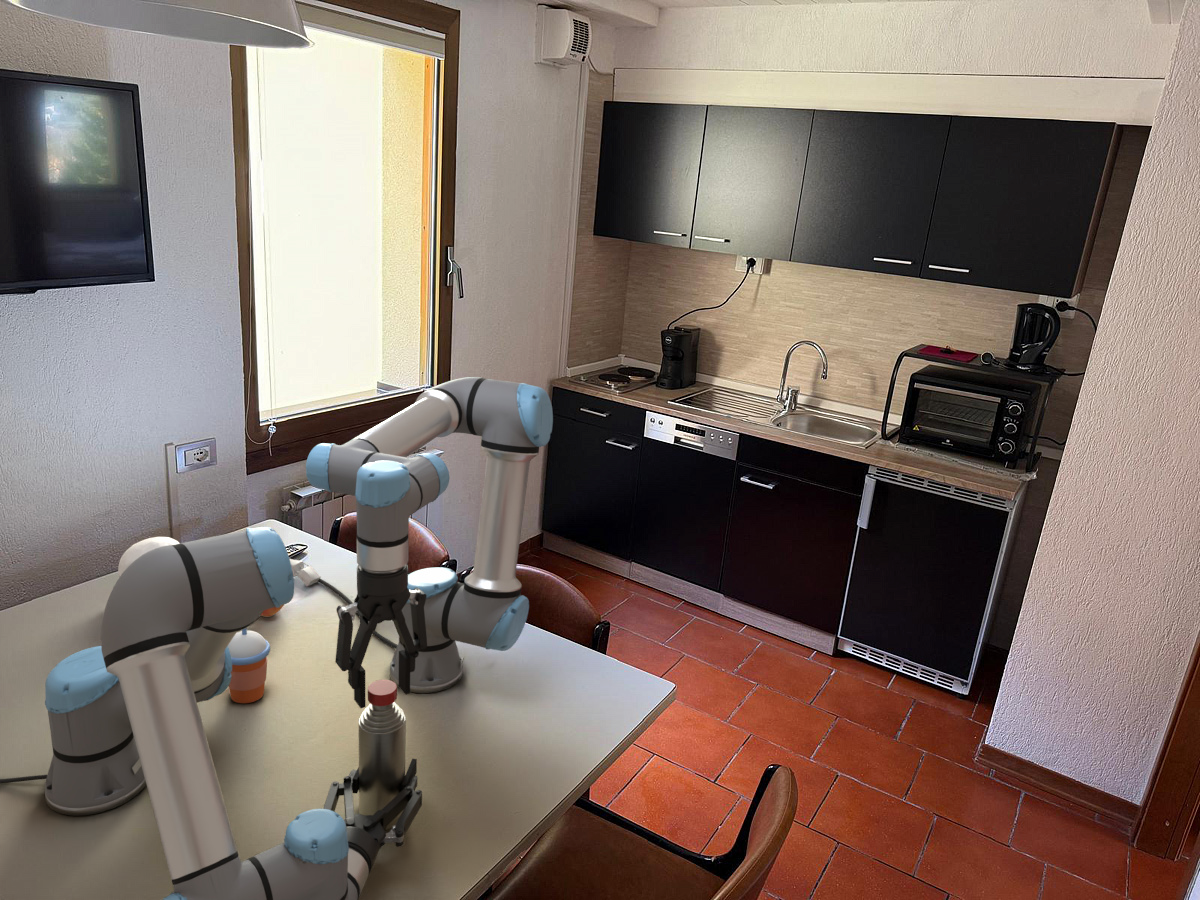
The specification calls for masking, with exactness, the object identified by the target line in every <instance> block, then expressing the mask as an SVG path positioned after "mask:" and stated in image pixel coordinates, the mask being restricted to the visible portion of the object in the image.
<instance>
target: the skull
mask: <svg viewBox="0 0 1200 900" xmlns="http://www.w3.org/2000/svg"><path fill="white" fill-rule="evenodd" d="M176 544H180V542H179V541H178V540H177V539H174V538H172V537H169V536H153V537H149V538H145V539H143V540H140V541H138V542H136V543H134V544H132V545H130V547H128V549H126V550H125V551H124V552H123V554H122V555H121V556H120V559H119V562H118V566H117V570H118V571H117V574H118V578H119V577H120V576H121V575H122V573H123V572H124V571H125V570H126V569H127V567H128V566H129V565H130V564H132V563H133V562H134V561H135V560H136V559H138V558H139V557H140V556H142V555H143V554H145V553H147V552H149V551H151V550H153V549H156V548H159V547H162V546H168V545H176Z"/></svg>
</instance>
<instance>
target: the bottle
mask: <svg viewBox="0 0 1200 900" xmlns="http://www.w3.org/2000/svg"><path fill="white" fill-rule="evenodd" d="M406 726H407V717H406V714H405V712H404V710H403V708H401V707H400V705H398V704H397V703H396V702H395V701H394V702H393V703H392V704H390V705H386V706H375V705H372V704H371V703H369V704H368V705H367V707H365V709H364V710H363V711H362V712H361V713H360V716H359V718H358V767H359V791H358V814H362V815H374V814H375V813H376V812H377V811H378V810H382V809H383V808H384V807H385V806H386V805H387V804H388V803H389V802H390V801H391V800H392V799H394V798H395V797H396V796H397V795H398V794H399V793H400V792H401V791H402V782H403V780H404V777H405V775H406V745H407V744H406V743H407V742H406V740H407V739H406V734H407V733H406V732H407V727H406ZM402 812H403V811H402ZM402 812H401V813H400V814H399V815H398V816H397V817H396V818H395V819H394V820H393V821H392V822H391V823H390V824H389V825H388V826H387V827H386V830H385V831H387V830H391V829H392V828H393V825H396V823H397V820H398V819H399V817H400V815H401V814H402Z"/></svg>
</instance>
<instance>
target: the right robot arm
mask: <svg viewBox="0 0 1200 900" xmlns="http://www.w3.org/2000/svg"><path fill="white" fill-rule="evenodd" d="M553 424H554V414H553V406H552V401H551V398H550V396H549V394H548V392H547V391H546V390H545V389H544V388H543V387H540V386H536V385H532V384H528V383H525V382H515V381H507V380H501V379H500V380H498V379H494V378H493V379H492V378H485V377H480V376H467V377H460V378H455V379H452V380H448V381H445V382H443V383H441V384H438V385H435V386H433V387H431V388H429V389H427V390H425V391H424V392H422V393H421V394H419V396H417V398H416V399H415V401H414V403H413V404H411V405H410V406H408V407H406V408H404V409H402V410H400V411H399V412H398V413H396V414H394V415H392V416H391V417H389V418H387V419H385V420H384V421H381V422H380V423H379V424H376V425H375V426H372V428H369V429H368V430H366V431H364V432H363V433H360V434H359V435H357V436H355V437H354V438H352V439H351V440H349V441H347V442H345V443H343V444H341V445H340V444H339V445H338V444H336V443H325V442H322V443H318V444H316V445H315V446H314V447H312V449H311V450H310V452H309V454H308V456H307V459H306V462H305V471H306V472H305V476H306V479H307V481H308V483H309V484H310V485H311V486H312V487H314V488H316V489H320V490H323V491H327V492H329V493H338V494H342V495H348V496H354V497H355V507H356V563H357V566H356V592H357V594H356V596H355V598H354V601H353V602H352V600H351V599H350V598H349V597H348V596H346V595H345V594H344V593H343V592H342V591H340V590H339V589H337V588H336V587H335V586H333V585H331V584H330V583H329V582H328V581H325V580H323V579H322V578H320V579H319V580H318V582H317V583H320V584H321V585H323V586H324V587H326V588H327V589H329V590H330V591H332V592H333V593H335V594H336V595H337V596H339V597H340V598H341V599H342V600H343V601H345V603H346V604H347V605H345V606H344V605H343V604H340V605H338V606H337V607H336V613H337V616H338V630H337V640H336V649H335V661H334V662H335V664H336V665H337V666H338V668H339V669H340V670H341V671H342V672H346V671H347V680H348V681H347V683H348V684H349V686H350V687H351V689H352V690H353V700H354V702H355V703H356V704H357V705H358V707H359V708H360V709H364V708H366V669H365V668H364V667H363V665H362V664H363V662H364V659H365V656H366V653H367V650H368V648H369V645H370V642H371V639H372V636H374V637H375V638H377V639H378V640H380V641H381V642H383V643H384V644H386V645H388V646H389V647H391V648H394V650H395V651H394V653H393V656H392V659H391V660H390V665H389V679H390V680H391V681H393V682H395V683H396V685H397V688H399V689H400V690H401V691H402V693H403V694H404V695H405V696H406V695H411V693H416V694H430V693H431V694H432V693H438V692H441V691H445V690H447V689H450V688H451V687H453V686H455V685H456V684H457V683H458V682H459V681H460V680H461V679H462V676H463V672H464V661H465V657H463V658H462V657H461V656H460V653H459V649H458V646H457V642H459V643H464V644H466V645H467V644H468V645H470V646H471V645H472V646H476V647H479V648H483V649H485V650H494V651H500V652H505V651H508V650H510V649H511V648H512V647H513V646H514V645H515V644H516V643H517V641H518V640H519V638H520V636H521V635H522V632H523V630H524V628H525V625H526V623H527V619H528V615H529V610H530V601H529V598H528V597H527V596H525V595H522V594H521V593H522V586H523V585H522V583H521V581H520V580H519V579H518V578H517V575H516V574H517V568H518V567H517V566H518V557H519V549H520V543H521V542H520V541H521V535H522V528H523V519H524V511H525V504H526V497H527V488H528V480H529V479H528V478H529V473H530V471H529V470H530V464H531V461H532V460H533V459H534V458H535V457H537V456H538V455H539V453H540V448H542V447H544V446H547V444H548V443H549V442H550V439H551V434H552V432H553ZM451 434H466V435H473V436H477V437H478V436H479V437H481V441H480V448H481V450H482V451H483V452H484V453H485V455H486V462H485V470H484V480H483V487H482V497H481V504H480V512H479V521H478V528H477V536H476V545H475V554H474V561H473V570H472V572H471V573H469V574H468V575H467V576H466V577H465V578H464V580H463V581H464V582H460V581H458V580H459V579H458V578H459V577H458V575H457V572H456V571H454V570H453V569H451V568H448V567H441V566H440V567H434V566H433V567H426V568H421V569H418V570H414V571H413V572H410V573H409V564H408V563H409V526H410V525H409V523H410V517H411V516H412V515H413V514H415V513H416V512H418V511H420V510H421V509H422V508H424V507H425V506H428V505H429V504H431V503H434V502H435V501H436V500H437V498H438V497H440V496H441V495H442V494H443V493H444V492H445V491H446V490H447V488H448V486H449V484H450V471H449V468H448V466H447V464H446V463H445V461H444V460H443V459H442V458H441V457H439V456H438V455H436V454H434V453H430V452H424V453H420V454H415V455H414V456H412V457H409V456H411V455H412V454H414V453H415V452H417V451H419V450H420V449H421V448H422V447H424V446H425V445H427V444H428V443H430V442H432V441H433V440H435V439H437V438H445V437H448V436H450V435H451ZM438 499H439V498H438ZM356 614H357V616H358V617H359V626H358V628H357V631H356V634H355V637H354V640H353V630H354V621H355V619H356ZM385 621H387V622H388V621H389V622H390V621H392V623H393V625H394V628H395V630H396V633H397V635H398V643H394V642H393V641H391V640H390V639H388V638H386V637H385V636H383V635H382V634H380V633H379V632H378V631H376V630H377V627H378V624H381V623H383V622H385Z"/></svg>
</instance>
